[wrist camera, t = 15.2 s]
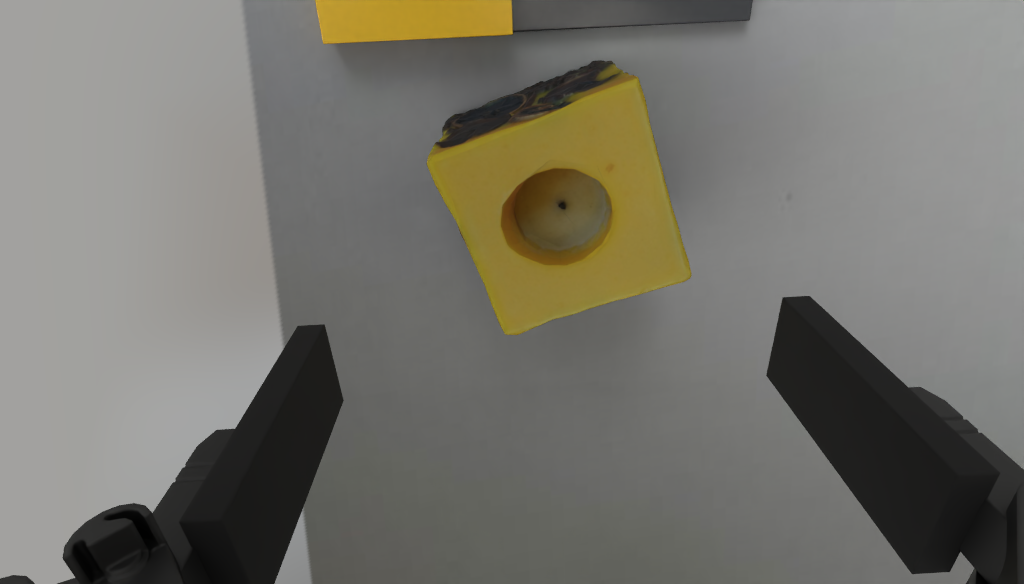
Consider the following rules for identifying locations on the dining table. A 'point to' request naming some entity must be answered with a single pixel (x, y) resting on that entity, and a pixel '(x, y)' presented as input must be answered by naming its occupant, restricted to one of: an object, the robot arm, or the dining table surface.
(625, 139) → the candle
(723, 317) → the dining table surface
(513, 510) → the dining table surface
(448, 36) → the knife
